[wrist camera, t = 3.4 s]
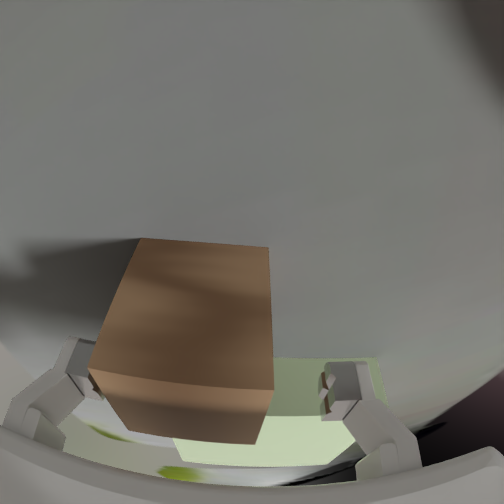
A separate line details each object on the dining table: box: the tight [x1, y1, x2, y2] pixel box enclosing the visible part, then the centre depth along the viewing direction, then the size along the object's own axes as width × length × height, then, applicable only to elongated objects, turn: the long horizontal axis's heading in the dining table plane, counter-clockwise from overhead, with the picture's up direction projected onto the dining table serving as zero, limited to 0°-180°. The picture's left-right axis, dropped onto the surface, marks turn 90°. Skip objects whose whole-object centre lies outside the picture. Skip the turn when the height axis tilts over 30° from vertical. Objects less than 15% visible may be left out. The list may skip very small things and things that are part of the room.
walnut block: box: [87, 238, 274, 445], centre depth 11 cm, size 5×5×6 cm
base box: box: [172, 357, 389, 467], centre depth 19 cm, size 12×12×4 cm
